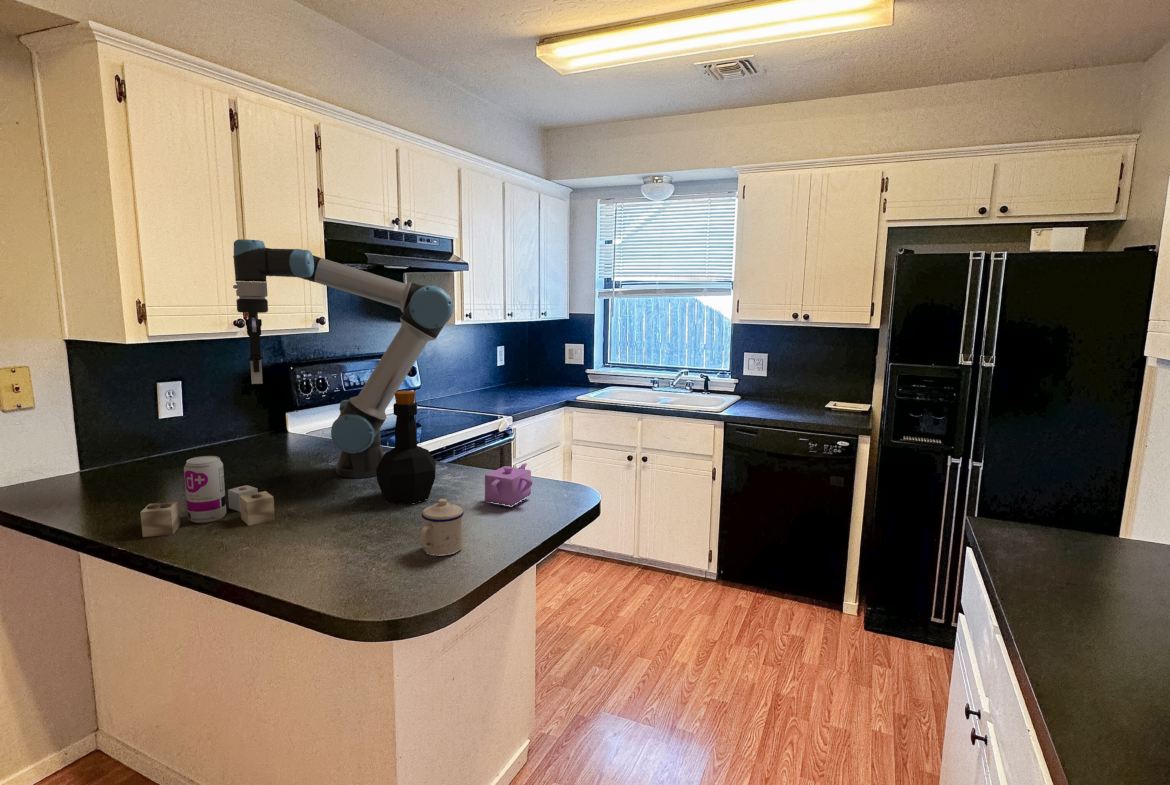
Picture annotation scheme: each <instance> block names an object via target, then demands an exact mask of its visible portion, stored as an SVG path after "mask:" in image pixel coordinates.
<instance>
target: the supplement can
mask: <svg viewBox="0 0 1170 785" xmlns="http://www.w3.org/2000/svg"><path fill="white" fill-rule="evenodd" d="M183 474H184V485H185V486H184V488H185V500H186V502H185V503H186V512H187V518H188V520H189V521H190V522H192V523H196V524H206V523H212V522H216V521H218V520H221V519H222V518H224V516H225V515H226V514H227V504H226V503H227V502H226V490H225V489H226V488H225V487H226V486H225V475H224V474H225V473H224V463H223V461H221V458H220V457H219V456H216V455H205V456H204V455H202V456H195V457H192V458H189V459H187V460H186V463H185V465H184V466H183Z"/></svg>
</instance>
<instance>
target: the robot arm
mask: <svg viewBox="0 0 1170 785" xmlns="http://www.w3.org/2000/svg"><path fill="white" fill-rule="evenodd" d="M232 258H233V264H234V265H233V266H234V280H235V284H234V285H232V288H233V289H236V291H235V294H236V296H237V297H238V298H237V299H236V300H235V301H236V311H237V312H238V313H244V314H245V313H247V314H248V318H245V320H244V323H245V326H246V335H247V336H248V338H249V358H247V362H250V377H251V378H250V379H251V385H260V384H261V385H263V384H264V383H263V369H262V368H263V365H262V360H264V356H262V354H261V350H262V349H261V339H260V338H261V335H262V324H263V320H262V318H259V314H264V313H268V312H269V304H268V303H269V302H268V299H267V297H268V282H267V277H282V278H283V277H284V278H298V279H302V280H306V281H309V282H313V283H316V284H320V285H322V286H326V287H330V288H333V289H336V290H339V291H342V292H346V293H350V294H353V295H356V296H359V297H362V298H366V299H369V300H371V301H375V302H378V303H382V304H386V305H389V306H392V307H395V308H399V310H400V311H401V313H402V314H401V315H400V317H399V320H400V325H401V326H400V327H399V329H398V330H397V333H396V334H395V336H394V337H393V338H392V341H391V342H390V344H389V345H388V346H387V349H386V350H385V351H384V353H383V355H382V357H381V358H380V360H379V361H378V363H377V364H376V366H375V368H374V370H373V371H372V373H371V374H370V376H369V377H368V379H367V381H366V382H365V384H364V385H363V387H362V389H361V390H360V392H359V394H358V395H356V396H353V397H350V398H349V399H344V400H343V399H342V400H341V401H340V403H339V408H338V409H339V412H340V413H339V415H338V417H337V419H334V421H333V423H332V425H331V429H330V437H331V441H332V443H333V444H334V445H335V447H337V448H338V449H339V450H340V452H339V455H338V456H339V457H338V459H337V463H336V466H335V467H336V470H335V471H336V474H337V475H338V476H339V477H342V478H349V479H352V478H353V479H361V478H370V477H371V478H372V477H377V475H376V469H377V467H378V465H379V463H380V461H381V459H382V457H383V455H384V454H385V453H384V451H383V448H382V444H381V443H382V441H381V428H382V426H383V425H384V423H385V422H386V420H387V415H386V414H387V413H386V410H387V408H388V406H389V405H390V403H391V401H392V400H393V398H395V392H398V391H399V389H400V387H401V385H402V384H403V382H404V381H405V379H406V378H407V376H408V374H409V372H410V371H411V369H412V367H413V366H414V364H415V363H416V361H417V359H418V358H419V356H421V353H422V352H423V350H424V348H425V346H426V345H427V344H428V342H431V341H434V340H437V338H438V336H439V335H440V333H441V332H442V330H443V328H444V326H445V325H446V323H448V322H449V320H450V319H451V317H452V315H453V312H454V303H453V301H452V300H453V299H452V298H451V296H450V294H449V293H448V292H447V291H446V290H444V289H443V288H441V287H439V286H437V285H432V284H431V285H430V284H429V285H423V284H418V283H415V282H411V281H410V282H408V283H403V282H401V281H397V280H394V279H391V278H388V277H384V276H381V275H378V274H375V273H373V272H369V271H366V270H365V271H364V270H362V269H358V268H356V267H352V266H349V265H346V264H343V263H341V262H340V263H339V262H336V261H332V260H330V259H326V258H322V257H319V256H316V255H314V254H313V252H311V250H309V249H302V248H294V249H293V248H270V247H266V246H265V242H264V241H263V240H259V239H258V240H257V239H248V238H247V239H242V238H241V239H236V240H235V241H233V256H232Z"/></svg>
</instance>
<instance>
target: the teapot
mask: <svg viewBox="0 0 1170 785" xmlns="http://www.w3.org/2000/svg"><path fill="white" fill-rule="evenodd" d="M527 465H528V463H522V464H521V465H520V467H519V468H518V467H513V466H509V465H508V466H506V465H504V466H502V467H500V468H498V469H495V470H491V471H490V472H488V473H486V474H484V502H485V501H486V502H493V503H499V504H505V505H510V506H512V505H514V504H515V503H517V502H519V501H520V500H522V499H524V498H525V497H527V496H529V495H530V494H531V495H532V493H531V491H532V490H531V489H532V486H533V480H532V471H531V470H530V469H526V466H527Z"/></svg>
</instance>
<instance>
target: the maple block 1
mask: <svg viewBox="0 0 1170 785" xmlns="http://www.w3.org/2000/svg"><path fill="white" fill-rule="evenodd" d="M140 522H141V523H140V524H141V531H142V532H141V534H142V537H143V538H146V537H147V538H148V537H157V536H169V535H171V536H172V535H174V534H175V532H177V530H178V529H179V528H180V526H181V517H180V503H179V501H168V502H155V503H152V502H151V503H148V504H147V505H146V506H145V508H143V509H142V510H141V511H140Z"/></svg>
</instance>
